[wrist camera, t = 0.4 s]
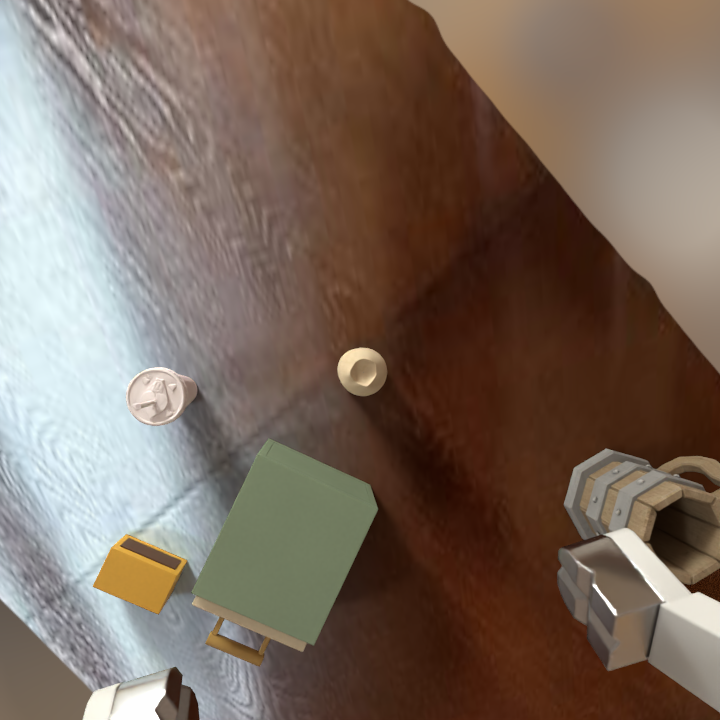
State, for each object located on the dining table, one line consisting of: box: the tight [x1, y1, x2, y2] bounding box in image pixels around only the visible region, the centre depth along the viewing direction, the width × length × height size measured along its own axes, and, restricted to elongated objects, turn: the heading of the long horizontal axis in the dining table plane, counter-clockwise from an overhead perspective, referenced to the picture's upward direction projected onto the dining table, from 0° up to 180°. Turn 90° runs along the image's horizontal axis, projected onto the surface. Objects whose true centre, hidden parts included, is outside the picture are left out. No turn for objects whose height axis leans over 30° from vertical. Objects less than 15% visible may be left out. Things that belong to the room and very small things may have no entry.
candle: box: [338, 348, 387, 396], centre depth 57 cm, size 6×6×10 cm
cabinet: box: [191, 439, 378, 645], centre depth 57 cm, size 17×15×10 cm
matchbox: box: [93, 534, 187, 614], centre depth 59 cm, size 8×6×4 cm, turn 64°
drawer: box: [192, 595, 307, 666], centre depth 57 cm, size 21×14×8 cm, turn 154°
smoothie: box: [126, 367, 197, 426], centre depth 54 cm, size 6×6×14 cm
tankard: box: [564, 449, 720, 585], centre depth 58 cm, size 20×13×15 cm, turn 119°
